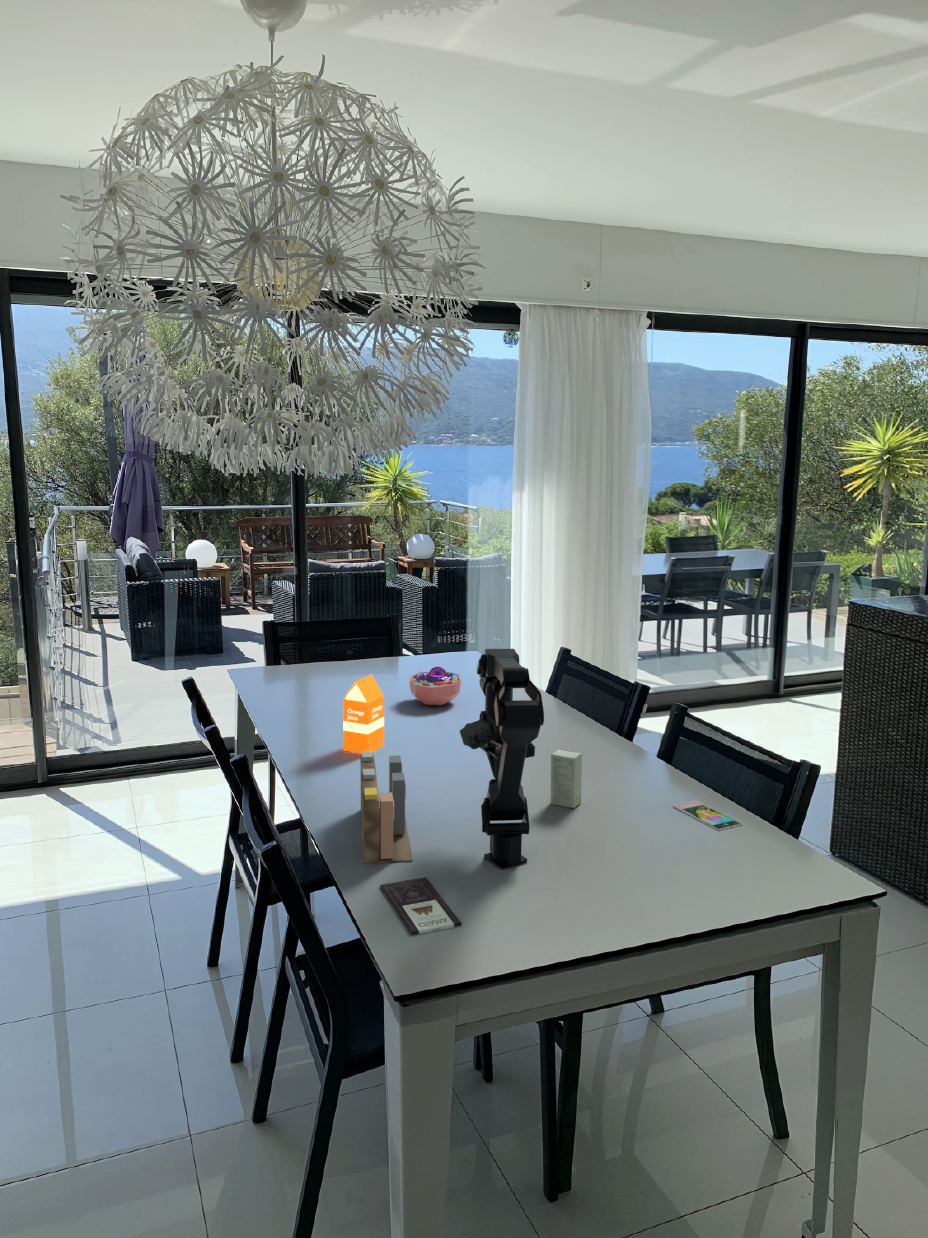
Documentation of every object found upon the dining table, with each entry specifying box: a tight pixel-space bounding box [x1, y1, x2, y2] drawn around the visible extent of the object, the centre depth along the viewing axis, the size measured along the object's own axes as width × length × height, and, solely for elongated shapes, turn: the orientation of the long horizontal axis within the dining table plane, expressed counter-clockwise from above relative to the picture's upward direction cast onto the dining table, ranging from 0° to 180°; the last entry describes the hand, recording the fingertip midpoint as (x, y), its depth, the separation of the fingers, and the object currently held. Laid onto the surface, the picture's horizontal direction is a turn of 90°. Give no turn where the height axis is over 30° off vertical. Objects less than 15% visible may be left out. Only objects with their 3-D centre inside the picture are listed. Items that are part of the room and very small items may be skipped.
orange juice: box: [342, 674, 385, 754], centre depth 244 cm, size 8×9×20 cm
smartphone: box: [672, 799, 743, 832], centre depth 204 cm, size 7×1×15 cm
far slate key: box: [388, 755, 403, 793], centre depth 202 cm, size 3×4×12 cm, turn 8°
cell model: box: [409, 666, 462, 706], centre depth 290 cm, size 17×20×11 cm
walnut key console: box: [359, 751, 413, 864], centre depth 190 cm, size 10×27×14 cm, turn 8°
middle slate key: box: [392, 772, 407, 835], centre depth 191 cm, size 3×4×12 cm, turn 8°
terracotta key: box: [379, 792, 394, 859], centre depth 180 cm, size 3×4×12 cm, turn 8°
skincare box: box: [550, 748, 583, 809], centre depth 209 cm, size 6×4×12 cm
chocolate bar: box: [379, 876, 462, 936], centre depth 162 cm, size 9×1×18 cm
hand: (497, 778), depth 191 cm, fingers closed
